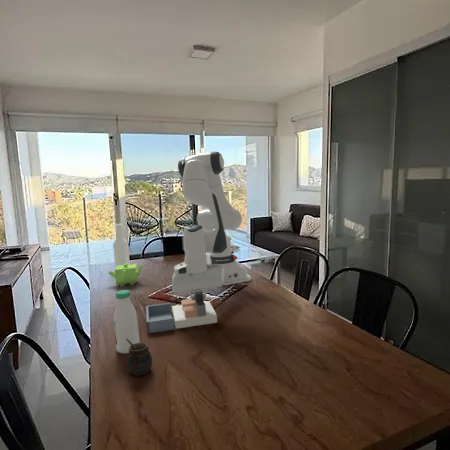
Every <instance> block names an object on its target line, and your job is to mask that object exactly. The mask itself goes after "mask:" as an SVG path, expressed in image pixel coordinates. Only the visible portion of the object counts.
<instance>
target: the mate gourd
mask: <svg viewBox="0 0 450 450" xmlns="http://www.w3.org/2000/svg"><path fill="white" fill-rule="evenodd" d="M126 340H127V341H128V342H129V343H130V344H131V346H130V347H129V353H128V354H129V355H128V358H127V369H128V370H129V372H130V373H131V374H132V375H134V376H136V377H137V376H138V377H141V376H143V375H146V374H148V372H150V371H151V369H152V365H153V357H152V355H151V352H150V350H149V344H148V343H147V342H143V341H140V342H139V343H135V344H132V343H131V342H130V341H129V340H128V339H126Z"/></svg>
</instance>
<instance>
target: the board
mask: <svg viewBox="0 0 450 450" xmlns="http://www.w3.org/2000/svg"><path fill="white" fill-rule="evenodd" d="M204 303H205V307H206V314H205V315H199V316H196V317H190V318H185V316H184V310H183V309H182V306H181V304H178V305H177V304H176V305H172V306H171V311H172V312H171V315H172V318H174V328H175V329H182V328H190V327H195V326H196V327H197V326H202V325H204V326H205V325H210V324H216V323H218V315H217V313H216V311H215V309H214V307H213V305H212V303H211V302H210V300H208V301H204Z"/></svg>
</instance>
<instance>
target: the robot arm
mask: <svg viewBox="0 0 450 450" xmlns="http://www.w3.org/2000/svg"><path fill="white" fill-rule="evenodd" d="M177 163H178V164H177V169H178V174H179V176H180V177H181V178H182V191H183V196H184V198H185V200H187V201H188V202H190V204H194V205H196V206H199V207H202V208H205V209H201V210H199V212H198V213H197V216H196V222H197V224H188V225H187V226H185V227H184V229H183V236H182V237H181V246H182V250H183V251H184V261H183V262H181V263H179V264H176V265H174V266H173V271H174V272H173V274H172V279H171V288H172V289H171V290H172V291H173V292H174V293H179V292H187V294H188V295H189V296H190V299H191V301H193V300H195V296H194V295H193V293H192V291H193V290H198V289H201V290H204V291H203V300H206V299H207V294H208V292H209V289H212V288H219V287H220V288H221V287H222V286H231V285H236V284H241V283H245V282H250V281H251V280H252V276H250V274H248V273H247V269H246V268H245V266H244V265H242V264H241V263H240V262H238V261H236V260H238V256H237V255H235V254H232V244H231V243H232V242H231V239H230V238H229V237H228V236H227V233H226V231H227V230H228V231H229V230H235V229H236V230H237V229H238V228H239V227H241V225H242V221H243V217H242V214H241V212H240V211H239V210H237V209H236V208H235V207H234V206H233V205H232V204H231V203H230V202H229V200H228V199H227V197H226V195H225V191H224V188H223V183H222V179H221V176H220V174H221V173H222V172H223V171H224V170H225V169H224V168H225V167H224V166H225V160H224V158H223V155H222V153H220V152H219V151H210V152H200V153H197V154H193V155H192V154H191V155H190V156H184V157H182V158H180V159H179V160H178V162H177ZM206 254H210V255H209V264H208V256H207V255H206Z"/></svg>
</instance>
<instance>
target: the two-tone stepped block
mask: <svg viewBox="0 0 450 450" xmlns="http://www.w3.org/2000/svg"><path fill="white" fill-rule="evenodd" d="M192 291H193V293H192V295H194V296H195V300H194V302H195V306H196V307H197V309H198V316H199V315H205V314H206V307H205V303H204V302H205V301H204V299H203V294H204V292H203V291H202V289H197V290H192Z"/></svg>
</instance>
